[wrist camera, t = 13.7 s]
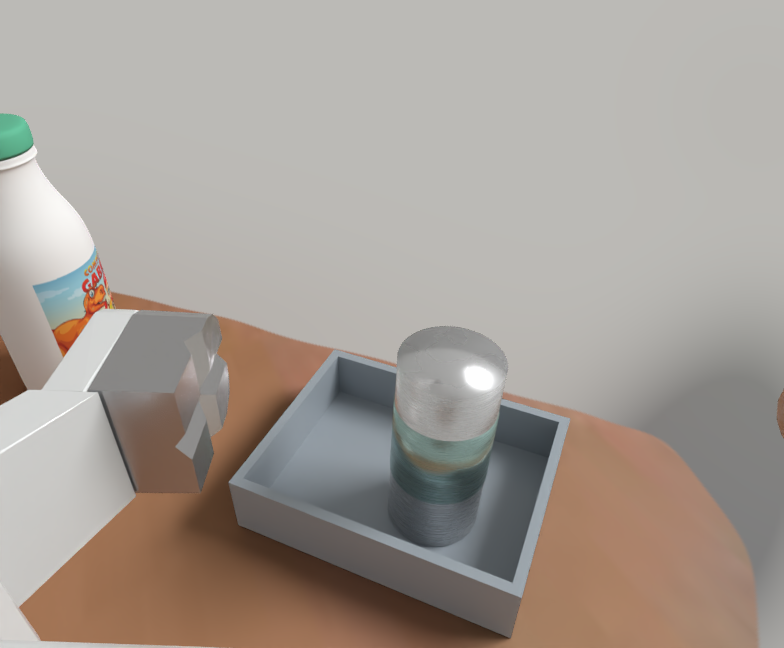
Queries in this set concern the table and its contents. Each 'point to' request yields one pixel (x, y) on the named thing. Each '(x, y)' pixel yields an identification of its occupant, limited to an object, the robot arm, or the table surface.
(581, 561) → the table surface
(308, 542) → the tote
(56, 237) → the milk bottle
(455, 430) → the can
